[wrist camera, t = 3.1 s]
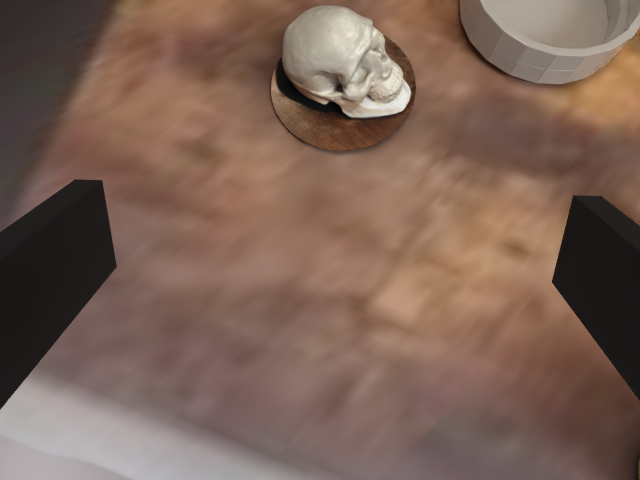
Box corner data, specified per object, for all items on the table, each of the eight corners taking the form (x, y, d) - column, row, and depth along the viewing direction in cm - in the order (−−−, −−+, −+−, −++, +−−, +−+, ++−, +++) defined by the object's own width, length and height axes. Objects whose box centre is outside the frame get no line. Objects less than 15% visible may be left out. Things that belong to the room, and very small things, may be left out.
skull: (443, 42, 44) (436, 51, 35) (392, 151, 49) (374, 184, 39) (315, -14, 45) (276, -20, 35) (277, 99, 49) (234, 119, 40)
